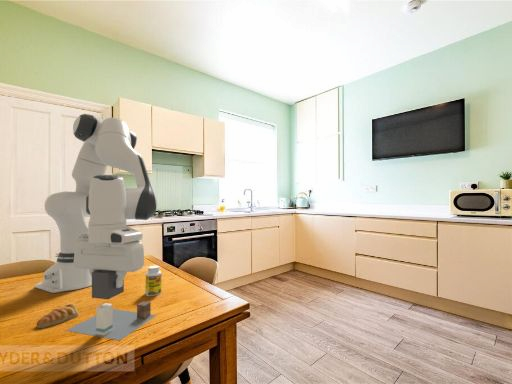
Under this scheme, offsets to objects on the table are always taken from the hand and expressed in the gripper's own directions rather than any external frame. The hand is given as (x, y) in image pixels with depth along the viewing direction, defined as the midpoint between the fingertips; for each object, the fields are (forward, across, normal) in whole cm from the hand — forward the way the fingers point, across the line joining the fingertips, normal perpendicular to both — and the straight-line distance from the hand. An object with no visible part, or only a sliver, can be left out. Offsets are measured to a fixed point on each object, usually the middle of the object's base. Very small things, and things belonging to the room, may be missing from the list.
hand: (108, 286), depth 66 cm
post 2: (+12, +3, +10) cm, 16 cm away
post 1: (+12, -1, 0) cm, 12 cm away
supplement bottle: (+13, -6, +27) cm, 30 cm away
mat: (+12, -3, +4) cm, 13 cm away
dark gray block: (+2, 0, 0) cm, 2 cm away
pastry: (+13, -20, +2) cm, 24 cm away
